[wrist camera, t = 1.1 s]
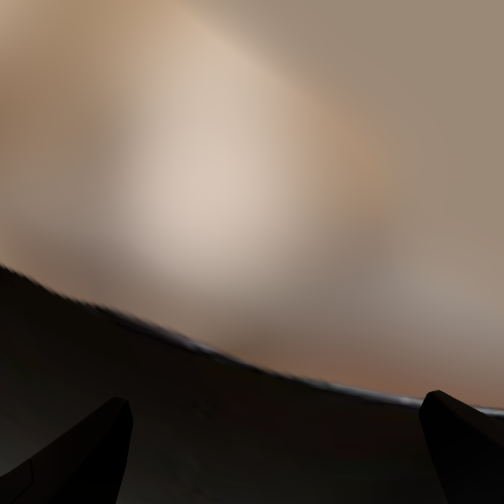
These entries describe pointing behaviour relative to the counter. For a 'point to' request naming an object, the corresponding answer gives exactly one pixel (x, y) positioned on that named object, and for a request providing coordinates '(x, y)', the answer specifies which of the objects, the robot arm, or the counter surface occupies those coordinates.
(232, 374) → the counter surface
